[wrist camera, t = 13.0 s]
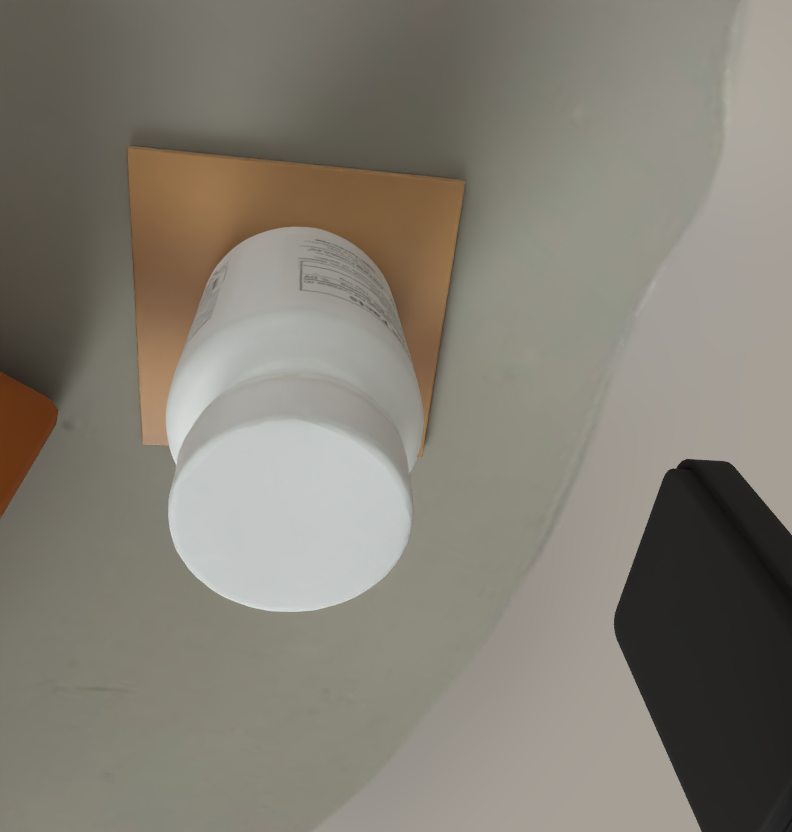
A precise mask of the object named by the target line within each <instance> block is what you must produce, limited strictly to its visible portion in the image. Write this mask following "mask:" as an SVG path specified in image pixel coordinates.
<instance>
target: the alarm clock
mask: <svg viewBox="0 0 792 832" xmlns="http://www.w3.org/2000/svg"><path fill="white" fill-rule="evenodd" d="M57 414H58V409H57V407H56V406H55V405H54V404H53V403H52V401H51V400H50V399H49V398H48V397H46V396H44V395H42V394H40V393H39V392H37V391H35V390H33V389H31V388H29V387H28V386H26V385H24V384H22V383H20V382H18V381H17V380H15V379H13V378H11V377H9V376H7V375H5V374H4V373H2V372H0V518H1V516H2V515H3V513H4V511H5V510H6V508H7V506H8V505H9V503H10V501H11V500H12V498H13V496H14V495H15V493H16V491H17V489H18V488H19V486H20V484H21V483H22V481H23V479H24V478H25V476H26V474H27V473H28V471H29V469H30V467H31V466H32V464H33V462H34V461H35V459H36V457H37V456H38V454H39V452H40V451H41V449H42V447H43V445H44V444H45V442H46V440H47V439H48V437H49V435H50V434H51V432H52V430H53V428H54V426H55V425H56V421H57Z"/></svg>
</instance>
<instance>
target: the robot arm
mask: <svg viewBox="0 0 792 832" xmlns="http://www.w3.org/2000/svg"><path fill="white" fill-rule="evenodd" d="M614 629H615V635H616V638H617V641H618V643H619V645H620V648H621V650H622V652H623V654H624V657H625V659H626V661H627V663H628V666H629V668H630V670H631V672H632V675H633V677H634V679H635V682H636V684H637V686H638V688H639V691H640V693H641V695H642V697H643V699H644V701H645V704H646V706H647V708H648V711H649V713H650V715H651V718H652V720H653V722H654V724H655V727H656V729H657V731H658V733H659V736H660V738H661V740H662V742H663V745H664V747H665V749H666V752H667V754H668V756H669V758H670V761H671V763H672V765H673V767H674V770H675V772H676V774H677V776H678V779H679V781H680V783H681V786H682V788H683V790H684V792H685V794H686V797H687V799H688V801H689V804H690V806H691V808H692V810H693V813H694V815H695V817H696V819H697V822H698V824H699V826H700V829H701V831H702V832H792V535H791V534H790V533H789V531H788V530H787V529H786V528H785V527H784V525H783V524H782V523H781V522H780V521H779V519H778V518H777V517H776V516H775V515H774V513H773V512H772V511H771V510H770V509H769V508H768V506H767V505H766V504H765V503H764V502H763V501H762V499H761V498H760V497H759V496H758V494H757V493H756V492H755V491H754V490H753V489H752V487H750V485H749V484H748V483H747V482H746V480H744V478H743V477H742V476H741V474H740V473H739V472H738V471H737V470H736V468H735V467H734V466H733V465H731V464H730V463H729V462H724V461H711V460H710V461H709V460H694V459H686V460H684V461H682V462H681V463H680V464H679V465H678V466H677V468H676V469H671V470H669V471H668V472H667V473H666V474H665V476H664V478H663V481H662V484H661V487H660V489H659V492H658V495H657V498H656V501H655V503H654V506H653V509H652V511H651V514H650V517H649V520H648V523H647V526H646V528H645V531H644V534H643V537H642V539H641V542H640V545H639V548H638V550H637V553H636V556H635V559H634V562H633V565H632V567H631V570H630V573H629V575H628V579H627V581H626V584H625V587H624V589H623V592H622V595H621V598H620V601H619V603H618V606H617V609H616V612H615V618H614Z"/></svg>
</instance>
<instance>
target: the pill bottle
mask: <svg viewBox="0 0 792 832" xmlns="http://www.w3.org/2000/svg"><path fill="white" fill-rule="evenodd" d="M423 425H424V417H423V406H422V401H421V396H420V391H419V386H418V382H417V379H416V375H415V371H414V367H413V363H412V360H411V356H410V353H409V350H408V347H407V343H406V339H405V336H404V333H403V330H402V327H401V323H400V319H399V316H398V312H397V308H396V305H395V302H394V299H393V296H392V293H391V290H390V287H389V285H388V283H387V281H386V279H385V277H384V275H383V274H382V272H381V271H380V270H379V268H378V267H377V265H376V264H375V263H374V262H373V261H372V260H371V259H370V258H369V257H368V256H367V255H366V254H365V253H364V252H363V251H362V250H361V249H359V248H358V247H357V246H356V245H354V244H352V243H351V242H349V241H348V240H346V239H344V238H342V237H340V236H338V235H335V234H333V233H331V232H328V231H325V230H321V229H317V228H310V227H283V228H278V229H273V230H269V231H266V232H263V233H260V234H257V235H255V236H252V237H250V238H248V239H246V240H244V241H243V242H241V243H240V244H238V245H237V246H236V247H235V248H233V249H232V250H231V251H230V252H229V253H228V254H227V255H226V256H225V257H224V258H223V259H222V260H221V261H220V263H219V264H218V265H217V266H216V268H215V269H214V271H213V272H212V274H211V276H210V278H209V280H208V282H207V285H206V287H205V290H204V293H203V296H202V298H201V301H200V303H199V306H198V309H197V312H196V316H195V318H194V321H193V324H192V326H191V329H190V332H189V335H188V338H187V341H186V343H185V346H184V349H183V352H182V355H181V357H180V360H179V362H178V365H177V368H176V370H175V374H174V377H173V380H172V384H171V387H170V391H169V395H168V399H167V406H166V431H167V438H168V443H169V447H170V451H171V454H172V457H173V459H174V461H175V464H176V470H175V475H174V479H173V482H172V486H171V490H170V494H169V501H168V520H169V527H170V533H171V536H172V539H173V543H174V546H175V549H176V551H177V552H178V553H179V555H180V557H181V559H182V560H183V561H184V563H185V564H186V566H187V567H188V569H189V570H190V571H191V572H192V573H193V574H194V575H195V576H196V577H197V578H198V579H199V580H201V581H202V582H203V583H204V584H205V585H206V586H208V587H209V588H210V589H212V590H213V591H215V592H216V593H218V594H220V595H221V596H223V597H225V598H227V599H230V600H232V601H235V602H237V603H240V604H243V605H246V606H249V607H253V608H258V609H263V610H268V611H285V612H300V611H311V610H317V609H321V608H325V607H329V606H333V605H337V604H340V603H343V602H345V601H348V600H350V599H352V598H354V597H356V596H358V595H360V594H361V593H363V592H365V591H366V590H368V589H369V588H370V587H372V586H373V585H375V584H376V583H377V582H379V581H380V580H381V579H382V578H384V577H385V576H386V575H387V574H388V573H389V572H390V570H391V569H392V568H393V567H394V565H395V564H396V563H397V562H398V560H399V558H400V557H401V555H402V553H403V551H404V550H405V548H406V545H407V542H408V540H409V537H410V534H411V528H412V523H413V496H412V488H411V481H410V472H411V470H412V468H413V466H414V464H415V462H416V459H417V456H418V454H419V451H420V447H421V442H422V436H423Z"/></svg>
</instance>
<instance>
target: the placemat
mask: <svg viewBox="0 0 792 832" xmlns="http://www.w3.org/2000/svg"><path fill="white" fill-rule="evenodd" d="M127 159H128V178H129V197H130V216H131V235H132V254H133V273H134V292H135V312H136V331H137V350H138V369H139V388H140V407H141V426H142V443H143V445H161V446H169V443H168V438H167V431H166V406H167V399H168V395H169V391H170V387H171V384H172V380H173V377H174V374H175V370H176V368H177V365H178V362H179V360H180V357H181V355H182V352H183V349H184V346H185V343H186V341H187V338H188V335H189V332H190V329H191V326H192V324H193V321H194V318H195V316H196V312H197V309H198V306H199V303H200V301H201V298H202V296H203V293H204V290H205V287H206V285H207V282H208V280H209V278H210V276H211V274H212V272H213V271H214V269H215V268H216V266H217V265H218V264H219V263H220V261H221V260H222V259H223V258H224V257H225V256H226V255H227V254H228V253H229V252H230V251H231V250H232V249H233V248H235V247H236V246H237V245H238V244H240V243H241V242H243V241H244V240H246V239H248V238H250V237H252V236H255V235H257V234H260V233H263V232H266V231H269V230H273V229H278V228H283V227H310V228H317V229H321V230H325V231H328V232H331V233H333V234H335V235H338V236H340V237H342V238H344V239H346V240H348V241H349V242H351V243H352V244H354V245H356V246H357V247H358V248H359V249H361V250H362V251H363V252H364V253H365V254H366V255H367V256H368V257H369V258H370V259H371V260H372V261H373V262H374V263H375V264H376V265H377V267H378V268H379V270H380V271H381V272H382V274H383V275H384V277H385V279H386V281H387V283H388V285H389V287H390V290H391V293H392V296H393V299H394V302H395V305H396V308H397V312H398V316H399V319H400V323H401V327H402V330H403V333H404V336H405V339H406V343H407V347H408V350H409V353H410V356H411V360H412V363H413V367H414V371H415V375H416V379H417V382H418V386H419V391H420V396H421V401H422V406H423V417H424V425H423V436H422V442H421V447H420V451H419V454H418V456H417V457H420V458H421V457H422V455H423V448H424V442H425V436H426V429H427V423H428V417H429V410H430V404H431V398H432V391H433V385H434V379H435V372H436V366H437V360H438V353H439V347H440V341H441V334H442V328H443V322H444V315H445V309H446V303H447V296H448V290H449V284H450V277H451V271H452V265H453V259H454V252H455V246H456V240H457V233H458V227H459V221H460V214H461V208H462V202H463V195H464V189H465V182H464V181H463V180H460V179H450V178H440V177H430V176H420V175H411V174H401V173H391V172H381V171H372V170H362V169H352V168H342V167H332V166H323V165H313V164H303V163H293V162H284V161H274V160H264V159H254V158H244V157H235V156H225V155H215V154H205V153H196V152H186V151H176V150H166V149H156V148H147V147H137V146H130V147H128V148H127Z"/></svg>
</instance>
